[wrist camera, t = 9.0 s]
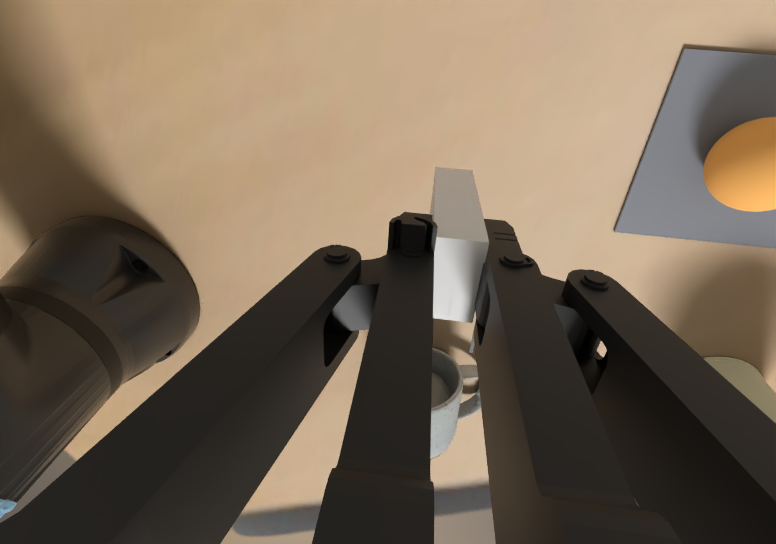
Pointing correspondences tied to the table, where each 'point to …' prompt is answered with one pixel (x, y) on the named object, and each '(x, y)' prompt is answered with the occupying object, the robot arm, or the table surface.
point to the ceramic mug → (449, 399)
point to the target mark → (700, 151)
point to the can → (747, 382)
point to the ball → (744, 167)
